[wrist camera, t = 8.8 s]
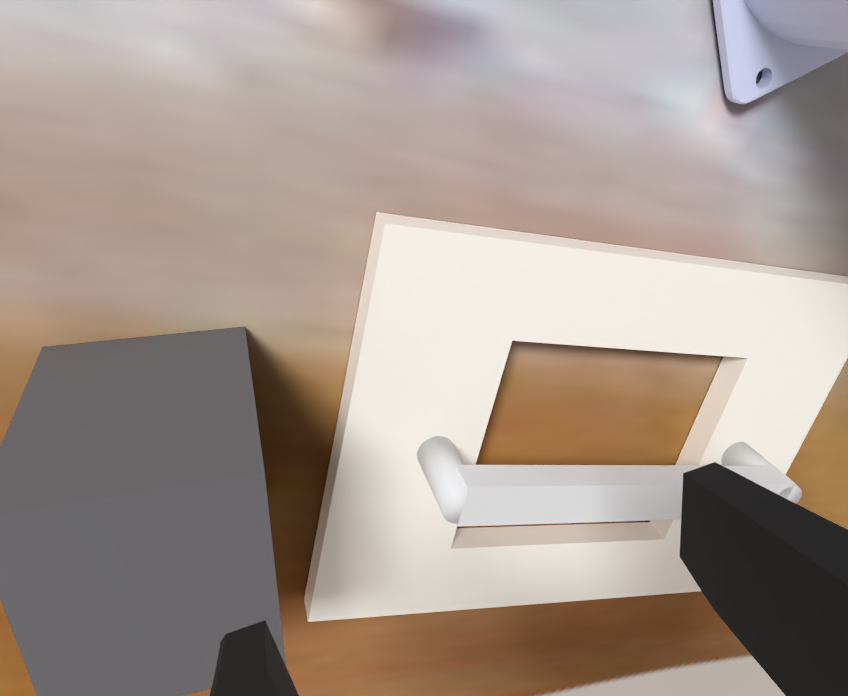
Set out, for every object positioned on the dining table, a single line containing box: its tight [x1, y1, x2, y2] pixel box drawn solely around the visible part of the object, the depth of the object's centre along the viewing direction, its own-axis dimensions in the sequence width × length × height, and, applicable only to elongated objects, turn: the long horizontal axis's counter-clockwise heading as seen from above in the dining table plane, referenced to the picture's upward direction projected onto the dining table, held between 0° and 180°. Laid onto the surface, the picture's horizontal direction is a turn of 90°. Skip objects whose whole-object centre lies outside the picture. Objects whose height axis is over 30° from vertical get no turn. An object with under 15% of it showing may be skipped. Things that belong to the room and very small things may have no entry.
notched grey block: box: [0, 327, 286, 696], centre depth 16 cm, size 6×5×6 cm
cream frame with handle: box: [304, 212, 848, 622], centre depth 22 cm, size 18×14×4 cm
